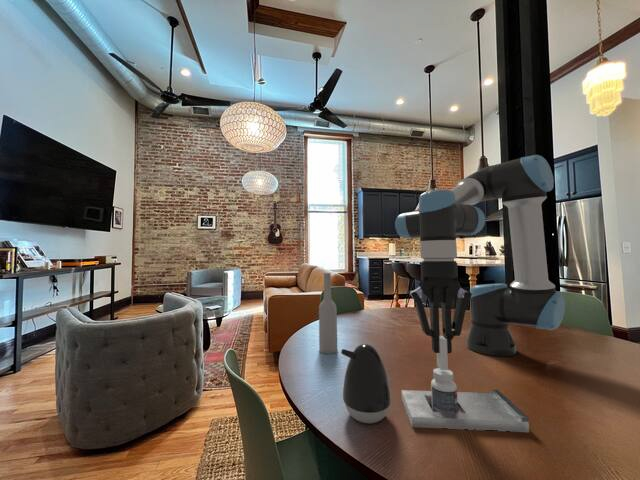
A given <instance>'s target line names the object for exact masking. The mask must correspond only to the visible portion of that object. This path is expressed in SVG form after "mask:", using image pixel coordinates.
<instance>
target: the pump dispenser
mask: <svg viewBox="0 0 640 480" xmlns="http://www.w3.org/2000/svg"><path fill="white" fill-rule="evenodd" d="M340 353H341V354H342V355H343V356H345V357H347V358H350V359H349V360H348V364H347V367H346V371H345V373H344V380H343V388H342V400H343V403H344V404H345V408H346V410H347V412H348V413H349V415H350V416H351V417H352V418H353V419H354V420H355V421H357V422H360V423H361V424H362V423H363V424H376V423H378V422H380V421H381V420H383V419H384V418H385V417H386V415H387V413H388V411H389V407H390V405H391V403H392V402H391V401H392V398H391V389H390V384H389V383H390V382H389V378H388V374H387V371H386V368H385V365H384V363H383V361H382V358H381V355H380V354H379V352H378V351H377V349H376V348H375V347H374V346H373V345H370V344H368V343H362V344H359V345H357V346H356V347H355V349H354V350H353V351H351V350H348V349H345V348H343V349H341V352H340Z"/></svg>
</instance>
